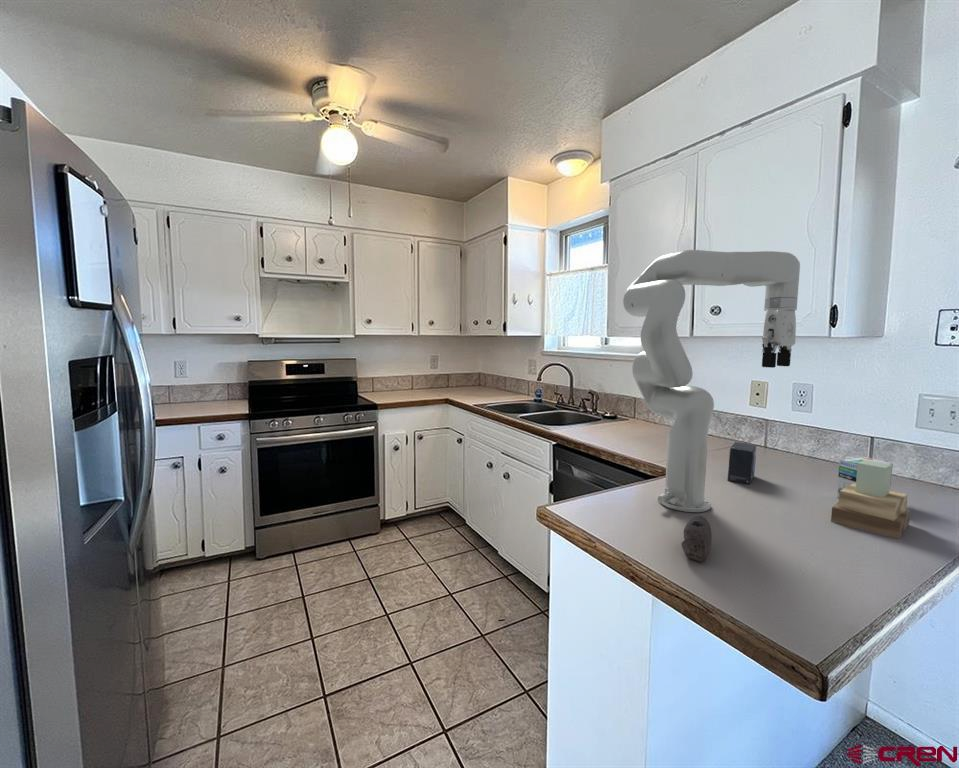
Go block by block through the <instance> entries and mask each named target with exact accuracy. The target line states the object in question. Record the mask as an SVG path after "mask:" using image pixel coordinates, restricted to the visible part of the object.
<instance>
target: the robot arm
mask: <svg viewBox="0 0 959 768" xmlns="http://www.w3.org/2000/svg"><path fill="white" fill-rule="evenodd" d="M800 263H801V262H800V261H799V259H798V257H797V256H795V255H794V254H793V253H790V252H785V251H774V250H773V251H771V250H770V251H769V250H767V251H766V250H764V251H762V250H761V251H713V250H700V249H685V250H680V251H676V252H672V253H668V254H664V255H660V256H659V257H658V258H656V259H655V260H654V261H652V263H651V264H650V265H649V266H647V268H646V269H644V271H643V272H641V274H640V275H639V276H638V277H637V278H636V279H635V280H634V281H633V282H632V283H631V284H630V285H629V286H628V287H627V289H626V290H625V292H624V295H623V298H622V299H623V300H622V302H623V303H622V304H623V308H624V310H625V311H626V312H627V313H628V314H629V315H631V316H633V317H639V318H640V317H645V318H644V321H643V324H642V327H641V331H640V342H641V346H642V347H643V350H644V351H641V352H640V353H638V354H637V355H636V356H635V358H634V359H633V361H632V376H633V378H634V381H635V383H636V385H637V387H638V390H639V391H640V394H641V396H642V398H643V400H644V402H645V404H646V405H647V407H648V409H649V410H650V411H651V412H652V413H653V414H655V415H656V416H659V417H662V418H667V419H671V420H674V422H673V424H672V425H671V427H670V430H669V432H668V434H667V440H666V463H665V464H666V465H665V484H664V485H665V487H664V492H662V493H660V494H659V495H658V496H657V501H658V502H659V503H660V504H661V505H662V506H664V507H667V508H669V509H671V510H675V511H680V512H685V513H703V512H707V511H708V510H710V508H711V507H712V506H711V505H712V504H711V502H710V500H709V499H707V498H706V497H705V493H706V491H705V490H706V474H707V473H706V472H707V457H708V456H707V454H708V438H709V437H708V435H709V428H710V424H711V419H712V416H713V414H714V408H715V403H714V402H715V401H714V398H713V396H712V394H711V393H710V392H709V391H707V390H706V389H704V388H702V387H699V386H695V385H689V384H690V382H691V381H692V379H693V368H692V365H691V362H690V360H689V358H688V355H687V353H686V351H685V349H684V346H683V345H682V342H681V340H680V337H679V335H678V331H677V324H678V319H679V316H680V313H681V311H682V308H683V306H684V304H685V300H686V290H685V287H684V286H689V285H690V286H693V285H694V286H714V287H715V286H716V287H718V286H719V287H725V286H738V285H744V286H746V287H752V288H753V287H754V288H755V287H762V286H765V291H764V292H765V294H764V307H763V310H764V312H765V315H764V316H765V317H764V323H763V331H762V332H763V334H762V338H761V339H762V344H761V345H762V350H761V351H762V352H761V353H762V359H761V367H762V368H776V367H790V365H791V356H792V355H791V354H792V346H795V344H796V331H797V330H796V329H797V319H796V317H797V316H796V311H797V309H798V298H799V285H800V284H799V283H800V272H801V271H800V270H801V264H800ZM777 349H778V352H776V350H777Z"/></svg>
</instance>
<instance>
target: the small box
mask: <svg viewBox="0 0 959 768" xmlns="http://www.w3.org/2000/svg"><path fill="white" fill-rule="evenodd" d="M728 458H729V459H728V471H727V481H728V480H729V481H731V482H735V483H740V484H746V485H751V483H752V481H753V480H754V477H755V472H756V471H755V470H756V458H757V444H750V443H745V442H744V443H743V442H738V441H735V442H733V444H732V445H731V446H730V448H729V456H728ZM729 481H728V482H729Z"/></svg>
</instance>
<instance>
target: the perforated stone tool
mask: <svg viewBox="0 0 959 768" xmlns="http://www.w3.org/2000/svg"><path fill="white" fill-rule="evenodd" d="M712 533H713V532H712V528H711V525H710V522H709V521H708V519H707V517H705V516H703V515H696V516H694V517H692V518H690V519H689V521H687V523H685V526H684V529H683V539H684V540H683V541H682V542H681V547H682V550H683V552H684V555H685V556H686V557H687V558H689V559H690V560H694V561H696V562H697V561H698V562H699V563H702V562H704V561H706V559H707V558H708V556H709V553H710V551H711V546H712V540H713V538H712V536H713V535H712Z"/></svg>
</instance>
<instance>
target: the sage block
mask: <svg viewBox="0 0 959 768" xmlns="http://www.w3.org/2000/svg"><path fill="white" fill-rule="evenodd" d="M892 464H893V463H892ZM892 464H886V463H881V462H875V461H869V460H863V461H861V462H859V463H858V466H857V477H856V489H855V492H859V493H864V494H868V495H873V496H877V497H882V498H883V497H885V496H886V495H888V494H889V490H890V491H891V487H890V480H891V481H892V477H891V470H892V471H893V468H892Z"/></svg>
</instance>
